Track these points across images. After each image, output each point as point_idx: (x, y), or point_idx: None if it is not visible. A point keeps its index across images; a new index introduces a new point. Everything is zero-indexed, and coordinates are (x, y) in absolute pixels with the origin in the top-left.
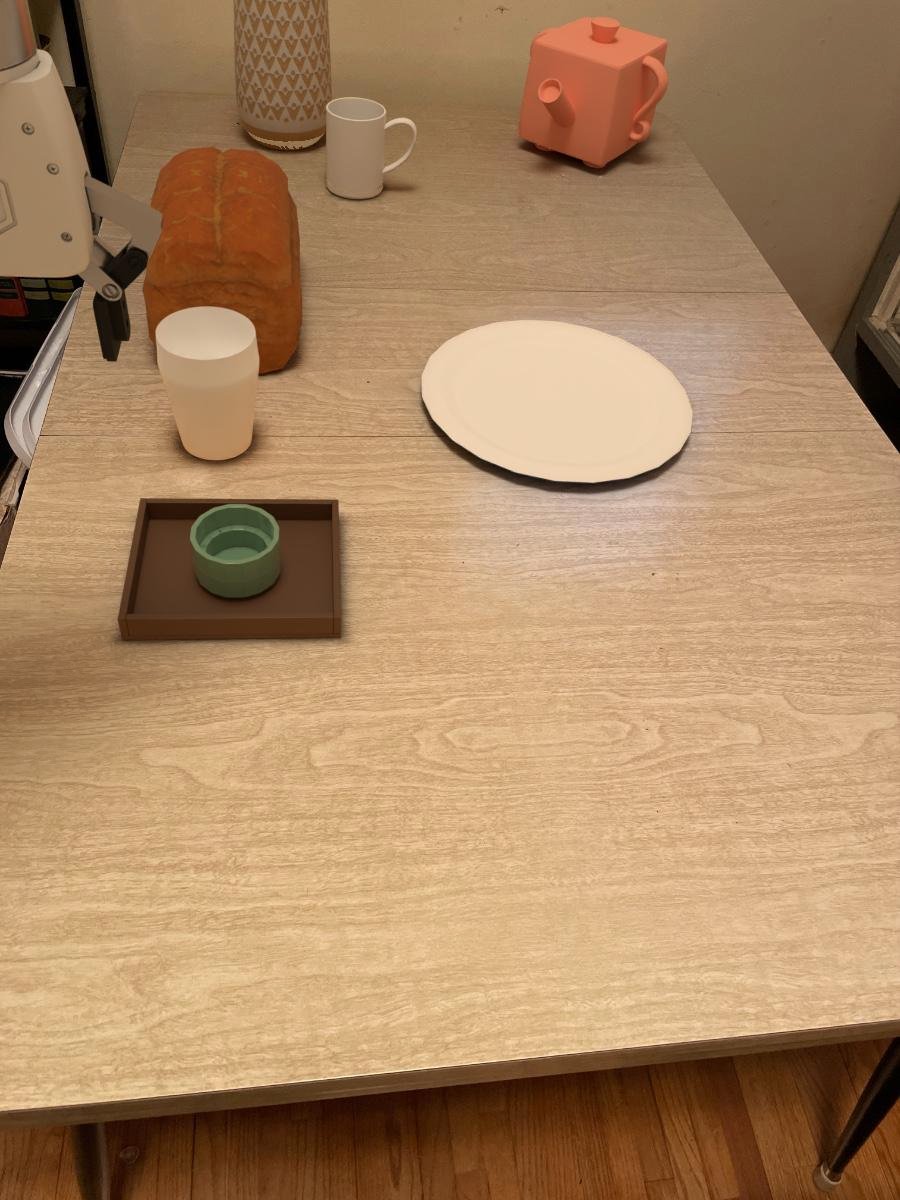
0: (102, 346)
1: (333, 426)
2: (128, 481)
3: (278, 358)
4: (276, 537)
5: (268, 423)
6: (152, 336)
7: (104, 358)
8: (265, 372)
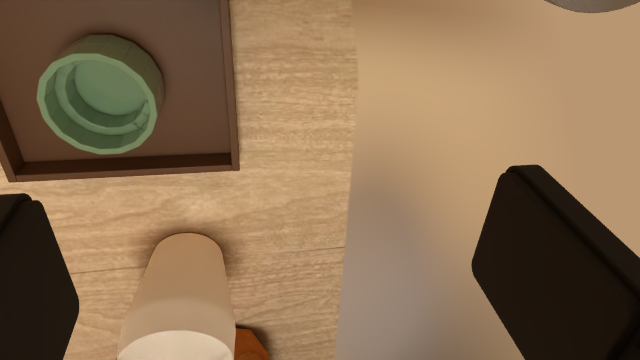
0: (7, 229)
1: None
2: (264, 201)
3: None
4: (40, 100)
5: None
6: (265, 356)
7: (33, 201)
8: None
